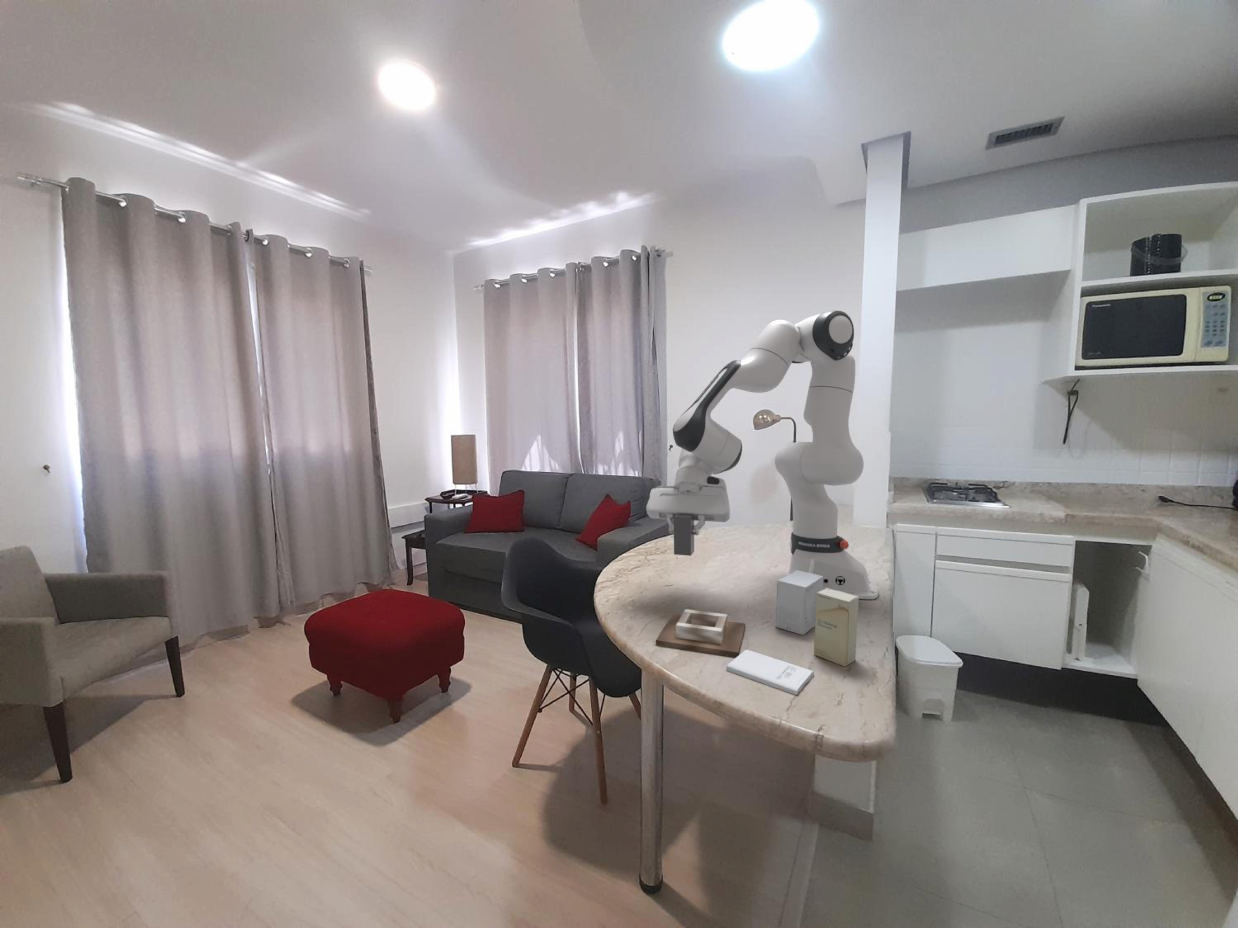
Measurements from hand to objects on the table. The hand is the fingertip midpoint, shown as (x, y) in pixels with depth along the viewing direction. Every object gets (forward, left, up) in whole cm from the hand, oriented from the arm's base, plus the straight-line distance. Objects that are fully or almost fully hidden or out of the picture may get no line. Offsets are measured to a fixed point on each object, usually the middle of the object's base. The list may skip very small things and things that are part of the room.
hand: (683, 533), depth 111 cm
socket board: (-7, +13, -18) cm, 24 cm away
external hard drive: (-21, +24, -19) cm, 37 cm away
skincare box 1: (-26, 0, -19) cm, 32 cm away
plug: (0, -1, -5) cm, 5 cm away
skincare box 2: (-32, +14, -19) cm, 40 cm away
